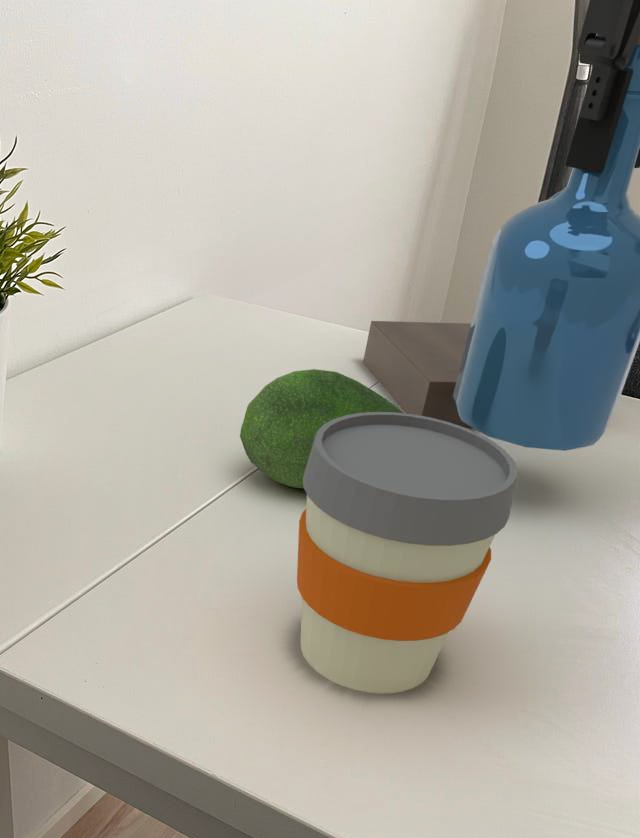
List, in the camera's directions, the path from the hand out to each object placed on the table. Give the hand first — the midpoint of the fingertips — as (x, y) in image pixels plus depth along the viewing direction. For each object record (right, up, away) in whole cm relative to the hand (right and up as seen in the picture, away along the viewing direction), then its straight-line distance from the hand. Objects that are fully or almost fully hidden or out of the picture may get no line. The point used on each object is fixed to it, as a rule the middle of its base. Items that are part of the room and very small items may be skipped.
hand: (602, 166), depth 75 cm
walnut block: (0, -9, +34) cm, 35 cm away
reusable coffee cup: (-19, -37, -7) cm, 42 cm away
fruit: (-19, -22, +14) cm, 32 cm away
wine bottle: (-1, -17, +12) cm, 21 cm away
